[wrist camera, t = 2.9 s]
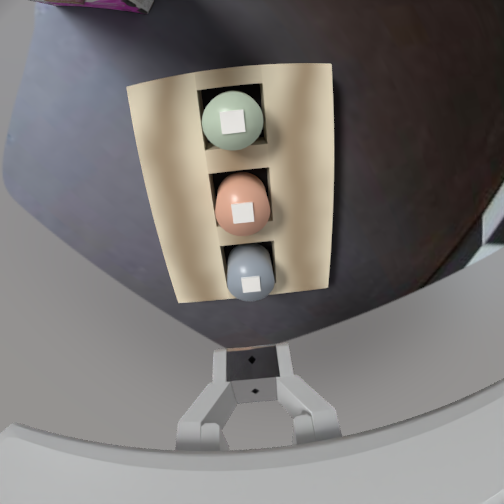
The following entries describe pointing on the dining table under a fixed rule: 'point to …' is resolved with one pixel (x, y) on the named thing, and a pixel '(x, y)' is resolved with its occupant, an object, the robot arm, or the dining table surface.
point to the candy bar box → (106, 4)
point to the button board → (252, 157)
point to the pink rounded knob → (242, 204)
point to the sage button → (232, 120)
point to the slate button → (250, 272)
